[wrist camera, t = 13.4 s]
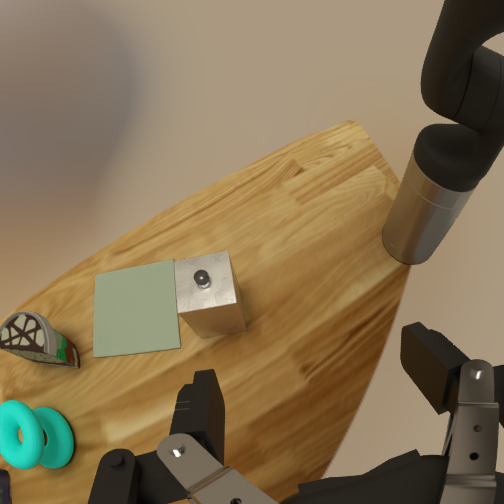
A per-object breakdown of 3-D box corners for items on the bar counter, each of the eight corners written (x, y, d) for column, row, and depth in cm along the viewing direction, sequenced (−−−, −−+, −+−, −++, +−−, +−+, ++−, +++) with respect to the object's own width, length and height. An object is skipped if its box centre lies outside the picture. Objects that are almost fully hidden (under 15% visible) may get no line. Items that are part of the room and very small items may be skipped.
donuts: (-11, 393, 29) (34, 404, 29) (32, 404, 38) (77, 412, 37) (-10, 458, 24) (36, 477, 24) (32, 460, 33) (79, 474, 32)
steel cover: (239, 287, 45) (226, 245, 35) (247, 330, 42) (234, 298, 32) (196, 296, 45) (171, 256, 35) (200, 338, 42) (174, 309, 32)
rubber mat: (174, 260, 49) (173, 259, 48) (181, 348, 42) (180, 347, 41) (96, 275, 49) (95, 274, 48) (94, 357, 42) (93, 357, 41)
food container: (91, 330, 44) (53, 307, 35) (87, 369, 41) (47, 352, 32) (36, 328, 45) (-1, 306, 36) (32, 362, 41) (-8, 345, 33)
